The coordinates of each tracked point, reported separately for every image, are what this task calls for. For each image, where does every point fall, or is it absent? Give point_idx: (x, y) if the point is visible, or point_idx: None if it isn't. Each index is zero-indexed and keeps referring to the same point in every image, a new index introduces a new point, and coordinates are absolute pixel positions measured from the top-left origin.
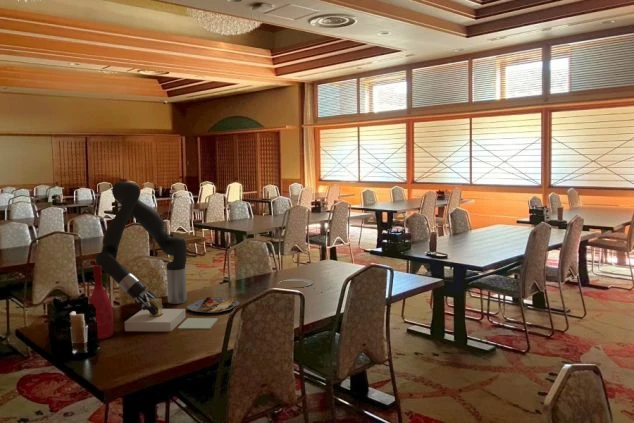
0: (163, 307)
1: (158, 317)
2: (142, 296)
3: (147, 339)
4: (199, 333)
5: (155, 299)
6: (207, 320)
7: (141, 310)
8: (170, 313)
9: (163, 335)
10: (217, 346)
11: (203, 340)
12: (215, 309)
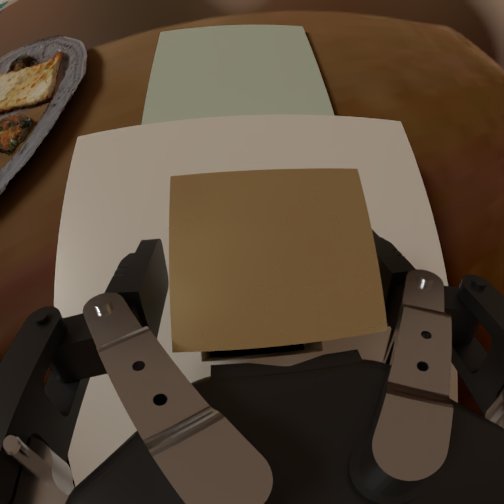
0: (154, 240)
1: None
2: (478, 449)
3: (494, 228)
4: (358, 51)
5: (251, 259)
6: (192, 48)
7: None
8: None
9: (437, 172)
10: (428, 24)
11: (411, 43)
12: (25, 94)
